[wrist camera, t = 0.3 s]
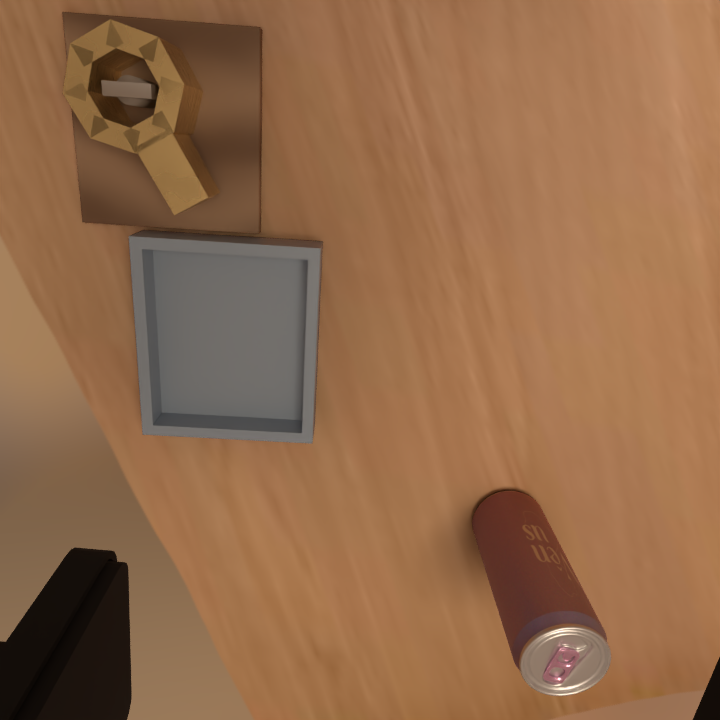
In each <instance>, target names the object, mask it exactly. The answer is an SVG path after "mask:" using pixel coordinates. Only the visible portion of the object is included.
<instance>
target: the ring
mask: <svg viewBox="0 0 720 720" xmlns="http://www.w3.org/2000/svg"><path fill="white" fill-rule="evenodd" d="M142 59H144V60H145V61H146V63H147V65H148V67H149V68H150V70H151V72H152V74H153V76H154V77H155V79H156V81H157V83H158V85H159V91H158V96H157V101H156V106H155V111H154V115H153V116H151V117H149V118H147V119H146V120H144V121H142V122H140V123H139V124H138V123H135V122H132V121H131V120H130V118H129V117H128V115H127V113H126V111H125V110H124V108H123V106H122V105H121V103H120V101H119V99H118V98H117V97H108V96H102V83H101V80H106V81H117V80H118V79H119V78H120V77H121V74H122V71H124V70H125V69H127V68H129V67H130V66H132V65H134V64H136V63H137V62H139V61H141V60H142ZM63 95H64V96H65V98H66V100H67V101H68V103H69V104H70V106H71V108H72V109H73V111H74V113H75V114H76V116H77V117H78V119H79V121H80V122H81V124H82V126H83V127H84V129H85V131H86V132H87V134H88V135H89V137H90V138H91V139H94V140H97V141H100V142H103V143H106V144H109V145H112V146H115V147H117V148H120V149H123V150H126V151H129V152H132V153H135V154H138V155H139V156H140V158H141V160H142V161H143V163H144V165H145V167H146V168H147V170H148V172H149V173H150V175H151V177H152V178H153V180H154V182H155V183H156V185H157V187H158V189H159V190H160V192H161V194H162V195H163V197H164V199H165V200H166V202H167V204H168V205H169V207H170V209H171V211H172V212H173V214H174V215H176V214H179V213H181V212H184V211H186V210H189V209H191V208H193V207H195V206H197V205H198V204H200V203H202V202H204V201H206V200H208V199H210V198H212V197H213V196H215V195H217V194H219V193H221V192H220V191H219V189H218V187H217V185H216V183H215V182H214V180H213V178H212V176H211V174H210V173H209V171H208V169H207V167H206V165H205V164H204V162H203V160H202V158H201V156H200V155H199V153H198V151H197V149H196V147H195V146H194V144H193V142H192V140H191V138H190V137H189V136H190V135H192V134H194V130H195V126H196V122H197V117H198V113H199V108H200V104H201V99H202V95H203V90H202V88H201V86H200V84H199V82H198V80H197V78H196V77H195V75H194V73H193V71H192V69H191V67H190V65H189V63H188V62H187V60H186V58H185V56H184V54H183V52H182V50H181V49H180V48H178V47H176V46H174V45H172V44H170V43H169V42H167V41H165V40H163V39H161V38H159V37H157V36H154V35H152V34H149V33H146V32H144V31H141V30H138V29H135V28H133V27H130V26H127V25H125V24H122V23H119V22H117V21H114V20H111V19H110V20H108V21H106V22H105V23H103V24H101V25H100V26H98V27H96V28H95V29H93V30H91V31H90V32H88V33H86V34H85V35H83V36H81V37H80V38H78V39H76V40H75V41H73V42H71V43H70V48H69V54H68V61H67V67H66V74H65V81H64V87H63Z"/></svg>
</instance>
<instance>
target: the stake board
mask: <svg viewBox="0 0 720 720" xmlns="http://www.w3.org/2000/svg"><path fill="white" fill-rule="evenodd" d="M62 14H63V24H64V35H65V45H66V55H67V61H68V54H69V48H70V43H71V42H73V41H75V40H76V39H78V38H80V37H81V36H83V35H85V34H86V33H88V32H90V31H91V30H93V29H95V28H96V27H98V26H100V25H101V24H103V23H105V22H106V21H108V20H110V19H111V20H114V21H117V22H119V23H122V24H125V25H127V26H130V27H133V28H135V29H138V30H141V31H144V32H146V33H149V34H152V35H154V36H157V37H159V38H161V39H163V40H165V41H167V42H169V43H170V44H172V45H174V46H176V47H178V48H180V49H181V50H182V52H183V54H184V56H185V58H186V60H187V62H188V63H189V65H190V67H191V69H192V71H193V73H194V75H195V77H196V78H197V80H198V82H199V84H200V86H201V88H202V90H203V95H202V99H201V104H200V108H199V113H198V117H197V122H196V126H195V130H194V134H192V135H190V136H189V137H190V138H191V140H192V142H193V144H194V146H195V147H196V149H197V151H198V153H199V155H200V156H201V158H202V160H203V162H204V164H205V165H206V167H207V169H208V171H209V173H210V174H211V176H212V178H213V180H214V182H215V183H216V185H217V187H218V189H219V191H220V192H221V193H219V194H217V195H215V196H213V197H212V198H210V199H208V200H206V201H204V202H202V203H200V204H198V205H197V206H195V207H193V208H191V209H189V210H186V211H184V212H181V213H179V214H176V215H174V214H173V212H172V211H171V209H170V207H169V205H168V204H167V202H166V200H165V199H164V197H163V195H162V194H161V192H160V190H159V189H158V187H157V185H156V183H155V182H154V180H153V178H152V177H151V175H150V173H149V172H148V170H147V168H146V167H145V165H144V163H143V161H142V160H141V158H140V156H139V155H138V154H135V153H132V152H129V151H126V150H123V149H120V148H117V147H115V146H112V145H109V144H106V143H103V142H100V141H97V140H94V139H91V138H90V137H89V135H88V134H87V132H86V131H85V129H84V127H83V126H82V124H81V122H80V121H79V119H78V117H77V116H76V114H75V113H74V111H73V109H72V117H73V128H74V138H75V148H76V159H77V169H78V180H79V190H80V200H81V211H82V221H83V222H85V223H101V224H116V225H131V226H147V227H162V228H178V229H193V230H209V231H224V232H239V233H255V234H259V233H260V232H261V139H262V29H261V28H260V27H251V26H238V25H225V24H212V23H199V22H186V21H173V20H160V19H147V18H134V17H121V16H108V15H95V14H82V13H69V12H62ZM101 83H102V96H108V97H117V98H118V99H119V101H120V103H121V105H122V106H123V108H124V110H125V111H126V113H127V115H128V117H129V118H130V120H131V121H132V122H135V123H138V124H139V123H140V122H142V121H144V120H146V119H147V118H149V117H151V116H153V115H154V111H155V106H156V101H157V96H158V91H159V85H158V83H157V81H156V79H155V77H154V76H153V74H152V72H151V70H150V68H149V67H148V65H147V63H146V61H145V60H144V59H142V60H141V61H139V62H137V63H136V64H134V65H132V66H130V67H129V68H127V69H125V70H124V71H122V74H121V77H120V78H119V79H118V80H117V81H106V80H101Z"/></svg>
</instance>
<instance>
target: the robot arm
mask: <svg viewBox="0 0 720 720" xmlns="http://www.w3.org/2000/svg"><path fill="white" fill-rule="evenodd" d="M130 704H131V658H130V620H129V581H128V566H127V563H125V562H117V558H116V554H115V552H114V551H108V550H96V549H85V548H84V549H83V548H73V549H71V550H70V551H69V553H68V554H67V555H66V556H65V558H64V559H63V561H62V562H61V564H60V565H59V567H58V568H57V569H56V571H55V572H54V574H53V575H52V576H51V578H50V579H49V581H48V582H47V584H46V585H45V586H44V588H43V589H42V591H41V592H40V594H39V595H38V597H37V598H36V599H35V601H34V602H33V604H32V605H31V607H30V608H29V609H28V611H27V612H26V614H25V615H24V617H23V618H22V620H21V621H20V622H19V624H18V625H17V627H16V628H15V630H14V631H13V632H12V634H11V635H10V637H9V638H8V640H7V641H6V642H0V720H127V717H128V714H129V709H130ZM693 720H720V657H719V660H718V662H717V664H716V667H715V669H714V671H713V674H712V676H711V678H710V681H709V683H708V685H707V688H706V690H705V692H704V695H703V697H702V700H701V702H700V704H699V707H698V709H697V711H696V713H695V716H694V718H693Z"/></svg>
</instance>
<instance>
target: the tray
mask: <svg viewBox="0 0 720 720" xmlns="http://www.w3.org/2000/svg"><path fill="white" fill-rule="evenodd" d="M129 247H130V261H131V276H132V290H133V304H134V318H135V333H136V347H137V361H138V375H139V389H140V404H141V418H142V432H143V435H161V436H180V437H199V438H218V439H237V440H256V441H275V442H294V443H312V442H313V435H314V427H315V409H316V386H317V363H318V340H319V317H320V294H321V271H322V249H323V241H309V240H293V239H278V238H262V237H247V236H231V235H216V234H200V233H185V232H169V231H154V230H142V231H140V232H138V233H135V234H133V235H130V236H129Z"/></svg>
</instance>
